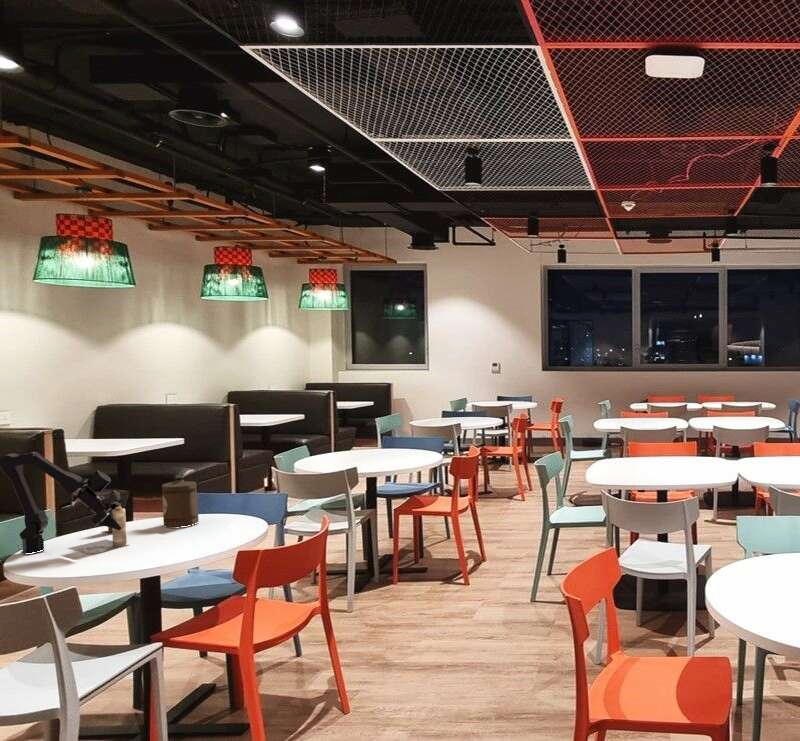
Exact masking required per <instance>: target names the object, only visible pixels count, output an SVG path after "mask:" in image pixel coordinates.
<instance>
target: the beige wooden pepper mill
mask: <svg viewBox="0 0 800 741" xmlns="http://www.w3.org/2000/svg"><path fill="white" fill-rule="evenodd" d="M126 514H127V513H126V508H122V506H121V507H115V509H114V510H112V515H113V518H114V519H115V521H116V522H117V523H118V524H119V525H120V527H121V530H117V529H113V528H112V534H111V535H112V541H113V547H121V548H124V546H125V547H127V546H126V545H127V544H128V543H127V541H128V540H127V522H126V521H127V518H126Z"/></svg>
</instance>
